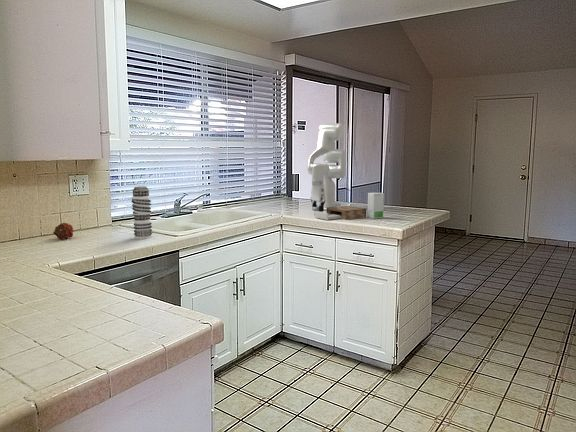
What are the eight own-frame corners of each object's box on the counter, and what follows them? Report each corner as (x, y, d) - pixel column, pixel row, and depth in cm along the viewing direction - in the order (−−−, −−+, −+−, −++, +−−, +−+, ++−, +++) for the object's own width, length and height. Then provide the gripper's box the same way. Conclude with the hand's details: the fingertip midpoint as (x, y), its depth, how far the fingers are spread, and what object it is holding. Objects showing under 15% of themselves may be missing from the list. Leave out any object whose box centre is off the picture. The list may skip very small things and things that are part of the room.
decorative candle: (130, 238, 223) (126, 187, 219) (139, 235, 232) (136, 186, 228) (147, 239, 221) (144, 187, 218) (156, 235, 230) (153, 186, 227)
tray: (334, 215, 293) (334, 209, 292) (346, 217, 282) (346, 211, 281) (314, 217, 285) (314, 211, 285) (327, 219, 274) (327, 213, 274)
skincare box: (373, 219, 279) (373, 193, 276) (366, 217, 284) (366, 192, 282) (384, 217, 282) (384, 192, 280) (377, 216, 288) (377, 192, 286)
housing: (346, 213, 302) (346, 205, 301) (366, 217, 285) (366, 208, 284) (326, 215, 294) (326, 207, 293) (345, 219, 277) (345, 210, 276)
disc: (319, 209, 300) (319, 206, 299) (325, 210, 294) (325, 207, 293) (310, 210, 296) (310, 206, 296) (316, 211, 290) (316, 208, 290)
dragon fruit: (64, 244, 219) (62, 243, 229) (79, 232, 223) (75, 232, 233) (51, 230, 216) (49, 231, 226) (66, 219, 220) (63, 219, 230)
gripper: (330, 184, 287) (330, 212, 289) (315, 182, 302) (315, 209, 304) (320, 184, 283) (320, 212, 286) (305, 183, 298) (305, 210, 300)
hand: (317, 210), depth 295 cm, fingers closed on disc, 7 cm apart
